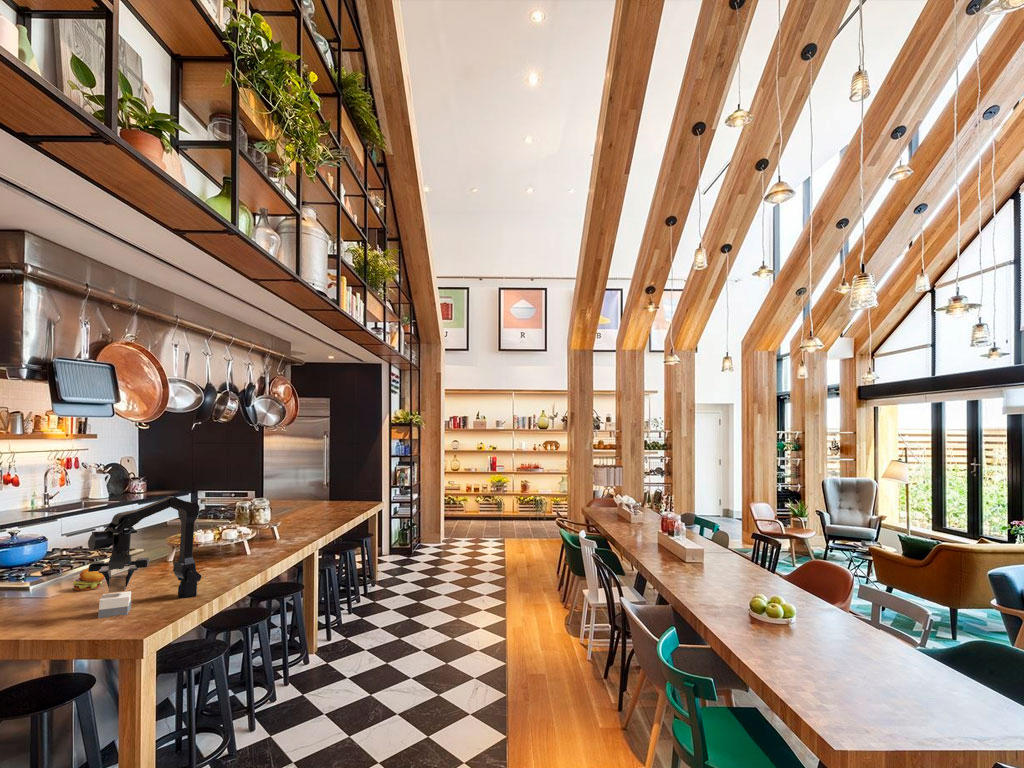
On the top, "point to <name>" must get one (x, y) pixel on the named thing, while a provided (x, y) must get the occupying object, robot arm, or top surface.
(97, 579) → the cheeseburger
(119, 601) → the tower top slab
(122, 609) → the tower base slab
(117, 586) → the walnut block
